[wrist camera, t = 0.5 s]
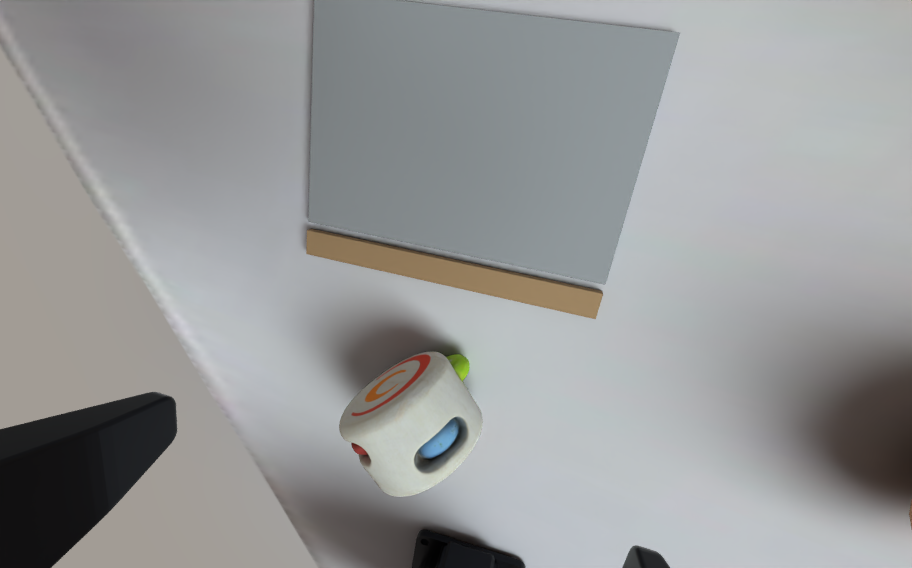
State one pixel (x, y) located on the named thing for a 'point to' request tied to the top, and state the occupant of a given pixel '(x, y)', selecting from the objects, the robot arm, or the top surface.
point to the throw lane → (479, 142)
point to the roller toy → (414, 423)
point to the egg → (911, 514)
